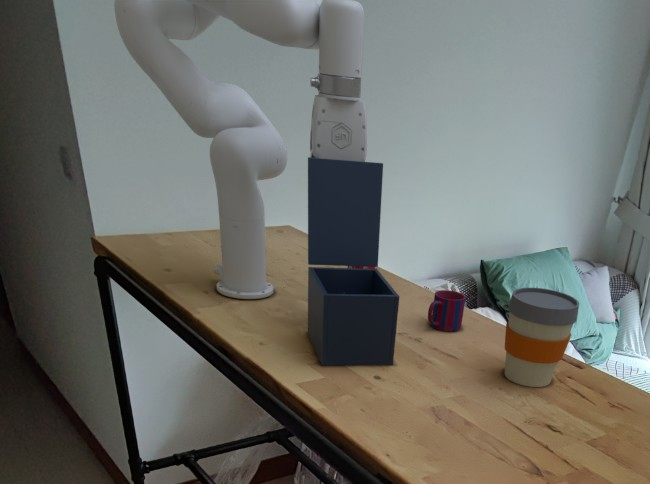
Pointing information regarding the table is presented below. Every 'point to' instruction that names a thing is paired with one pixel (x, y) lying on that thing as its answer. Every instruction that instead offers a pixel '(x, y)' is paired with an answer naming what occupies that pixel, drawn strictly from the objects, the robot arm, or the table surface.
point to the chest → (351, 316)
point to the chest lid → (344, 212)
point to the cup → (447, 310)
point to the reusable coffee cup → (537, 334)
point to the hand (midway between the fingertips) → (336, 201)
